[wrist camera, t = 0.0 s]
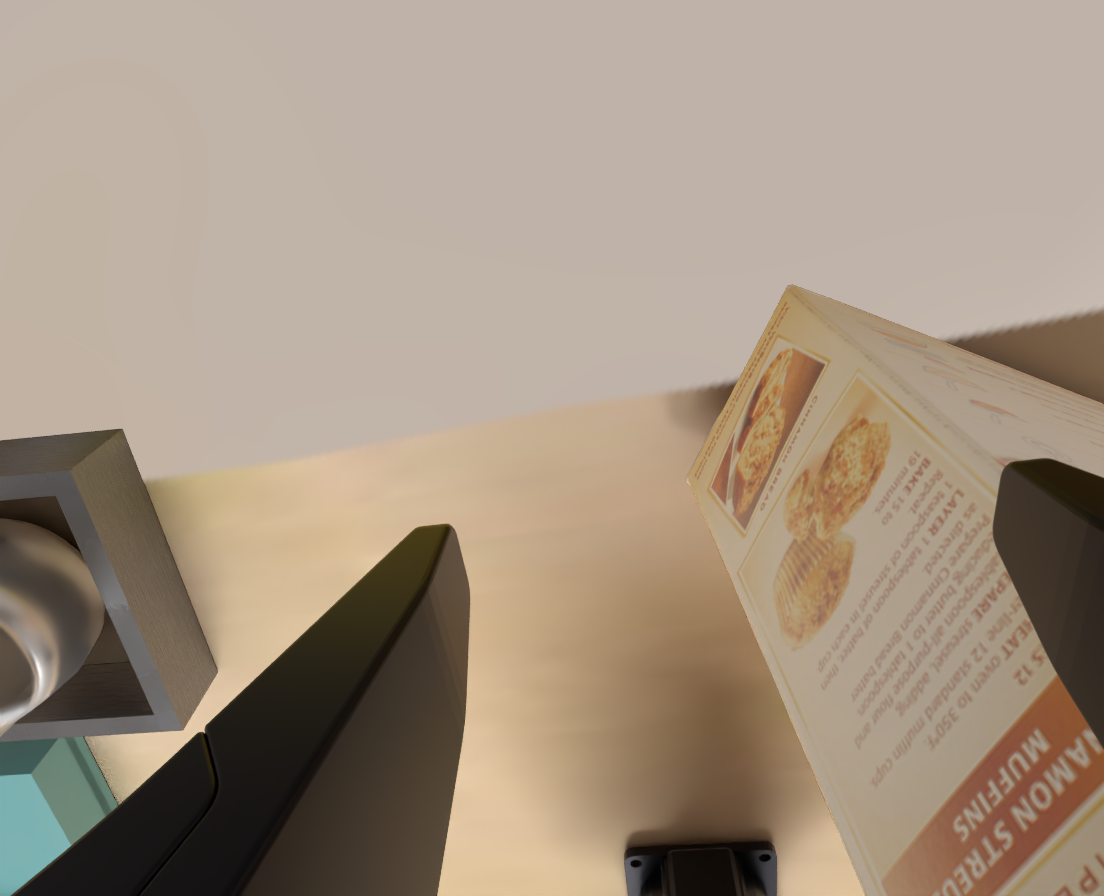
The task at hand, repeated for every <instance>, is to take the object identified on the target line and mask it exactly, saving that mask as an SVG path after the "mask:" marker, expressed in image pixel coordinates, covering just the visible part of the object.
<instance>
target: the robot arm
mask: <svg viewBox="0 0 1104 896" xmlns="http://www.w3.org/2000/svg"><path fill="white" fill-rule="evenodd" d="M993 539H994V543H995V546H996V549H997V551H998V553H999V555H1000V557H1001V559H1002V562H1003V564H1004V566H1005V568H1006V570H1007V572H1008V574H1009V576H1010V578H1011V581H1012V583H1013V585H1014V587H1015V589H1016V591H1017V593H1018V595H1019V598H1020V600H1021V602H1022V604H1023V606H1024V608H1025V610H1026V612H1027V614H1028V617H1029V619H1030V621H1031V623H1032V625H1033V627H1034V629H1035V631H1036V634H1037V636H1038V638H1039V640H1040V642H1041V644H1042V646H1043V648H1044V650H1045V652H1046V654H1047V656H1048V658H1049V660H1050V662H1051V664H1052V666H1053V668H1054V670H1055V671H1056V673H1057V675H1058V676H1059V678H1060V680H1061V681H1062V683H1063V685H1064V687H1065V688H1066V690H1067V692H1068V693H1069V695H1070V696H1071V698H1072V700H1073V701H1074V703H1075V704H1076V706H1077V708H1078V709H1079V711H1080V712H1081V714H1082V716H1083V717H1084V719H1085V720H1086V722H1087V724H1088V725H1089V727H1090V728H1091V730H1092V732H1093V733H1094V735H1095V736H1096V738H1097V740H1098V741H1099V743H1100V745H1101V746H1102V748H1103V749H1104V478H1103V477H1101V476H1098V475H1095V474H1092V473H1090V472H1087V471H1084V470H1081V469H1079V468H1076V467H1073V466H1070V465H1068V464H1065V463H1062V462H1059V461H1057V460H1054V459H1050V458H1039V459H1030V460H1021V461H1013V462H1010V463H1009V464H1007V465H1006V466H1005V467H1004V469H1003V471H1002V473H1001V477H1000V482H999V489H998V495H997V501H996V507H995V513H994V519H993ZM469 618H470V589H469V582H468V578H467V574H466V570H465V566H464V562H463V558H462V554H461V550H460V546H459V542H458V538H457V534H456V531H455V529H454V528H453V527H452V526H451V525H450V524H440V525H430V526H421V527H417V528H415V529H414V530H413V531H412V532H411V533H409V534H408V535H407V536H406V537H405V538H404V539H403V540H402V541H401V542H400V543H399V544H398V545H397V546H396V547H395V548H394V549H393V550H391V551H390V552H389V553H388V554H387V555H386V556H385V557H384V558H383V559H382V560H381V561H380V562H379V563H378V564H377V565H376V566H374V567H373V568H372V569H371V570H370V571H369V572H368V573H367V574H366V575H365V576H364V577H363V578H362V579H361V580H360V581H359V582H358V583H356V584H355V585H354V586H353V587H352V588H351V589H350V590H349V591H348V592H347V593H346V594H345V595H344V596H343V597H342V598H341V599H340V600H338V601H337V602H336V603H335V604H334V605H333V606H332V607H331V608H330V609H329V610H328V611H327V612H326V613H325V614H324V615H323V616H321V617H320V618H319V619H318V620H317V621H316V622H315V623H314V624H313V625H312V626H311V627H310V628H309V629H308V630H307V631H306V632H305V633H303V634H302V635H301V636H300V637H299V638H298V639H297V640H296V641H295V642H294V643H293V644H292V645H291V646H290V647H289V648H288V649H286V650H285V651H284V652H283V653H282V654H281V655H280V656H279V657H278V658H277V659H276V660H275V661H274V662H273V663H272V664H271V665H270V666H268V667H267V668H266V669H265V670H264V671H263V672H262V673H261V674H260V675H259V676H258V677H257V678H256V679H255V680H254V681H253V682H252V683H250V684H249V685H248V686H247V687H246V688H245V689H244V690H243V691H242V692H241V693H240V694H239V695H238V696H237V697H236V698H235V699H233V700H232V701H231V702H230V703H229V704H228V705H227V706H226V707H225V708H224V709H223V710H222V711H221V712H220V713H219V714H218V715H216V716H215V717H214V718H213V719H212V720H211V721H210V722H209V723H208V724H207V725H206V726H205V733H204V732H199V733H197V734H196V735H195V736H194V737H193V738H192V739H191V740H190V741H189V742H188V743H186V744H185V745H184V746H183V747H182V748H181V749H180V750H179V751H178V752H177V753H176V754H175V755H174V756H173V757H172V758H171V759H169V760H168V761H167V762H166V763H165V764H164V765H163V766H162V767H161V768H160V769H158V770H157V771H156V772H155V773H154V774H153V775H152V776H151V777H150V778H149V779H147V780H146V781H145V782H144V783H143V784H142V785H141V786H140V787H139V788H138V789H136V790H135V791H134V792H133V793H132V794H131V795H130V796H129V797H128V798H127V799H125V800H124V801H123V802H122V803H121V804H120V805H119V806H117V807H116V808H115V809H114V810H113V811H112V812H110V813H109V814H108V815H107V816H106V817H104V818H103V819H102V820H101V821H100V822H99V823H97V824H96V825H95V826H94V827H93V828H91V829H90V830H89V831H88V832H87V833H86V834H84V835H83V836H82V837H81V838H80V839H78V840H77V841H76V842H75V843H74V844H73V845H71V846H70V847H69V848H68V849H67V850H65V851H64V852H63V853H62V854H61V855H59V856H58V857H57V858H56V859H55V860H53V861H52V862H51V863H50V864H48V865H47V866H46V867H45V868H44V869H42V870H41V871H40V872H39V873H37V874H36V875H35V876H34V877H33V878H31V879H30V880H29V881H28V882H26V883H25V884H24V885H23V886H22V887H20V888H19V889H18V890H17V891H15V892H14V893H13V894H12V895H11V896H437V893H438V887H439V881H440V875H441V869H442V863H443V856H444V850H445V844H446V838H447V832H448V826H449V820H450V814H451V808H452V801H453V795H454V789H455V783H456V777H457V771H458V765H459V759H460V752H461V746H462V740H463V732H464V725H465V713H466V696H467V670H468V644H469ZM624 865H625V873H626V881H627V890H628V896H777V856H776V852H775V848H774V846H773V845H772V844H771V843H769V842H745V843H723V844H702V845H681V846H660V847H638V848H630V849H628V850H627V851H626V852H625V853H624Z"/></svg>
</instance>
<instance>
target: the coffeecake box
mask: <svg viewBox="0 0 1104 896" xmlns="http://www.w3.org/2000/svg"><path fill="white" fill-rule="evenodd" d="M1039 458H1050V459H1054V460H1057V461H1059V462H1062V463H1065V464H1068V465H1070V466H1073V467H1076V468H1079V469H1081V470H1084V471H1087V472H1090V473H1092V474H1095V475H1098V476H1101V477H1103V478H1104V404H1103V403H1100V402H1098V401H1095V400H1092V399H1090V398H1087V397H1085V396H1082V395H1079V394H1077V393H1074V392H1072V391H1069V390H1066V389H1064V388H1061V387H1059V386H1056V385H1054V384H1051V383H1048V382H1046V381H1043V380H1041V379H1038V378H1036V377H1033V376H1030V375H1028V374H1025V373H1023V372H1020V371H1018V370H1015V369H1013V368H1010V367H1008V366H1005V365H1003V364H1000V363H998V362H995V361H992V360H990V359H987V358H985V357H982V356H979V355H977V354H974V353H972V352H969V351H966V350H964V349H961V348H959V347H956V346H953V345H951V344H948V343H946V342H943V341H940V340H938V339H935V338H933V337H930V336H927V335H925V334H922V333H920V332H917V331H914V330H911V329H909V328H906V327H904V326H901V325H898V324H895V323H893V322H891V321H888V320H885V319H882V318H880V317H878V316H875V315H872V314H870V313H867V312H865V311H862V310H859V309H857V308H854V307H852V306H849V305H846V304H843V303H841V302H838V301H835V300H833V299H830V298H827V297H825V296H822V295H819V294H816V293H814V292H811V291H808V290H806V289H803V288H800V287H797V286H795V285H789V286H787V288H786V290H785V292H784V294H783V296H782V298H781V300H780V302H779V304H778V306H777V308H776V310H775V311H774V313H773V316H772V317H771V319H770V321H769V323H768V325H767V327H766V329H765V331H764V332H763V335H762V336H761V338H760V340H759V342H758V344H757V346H756V348H755V350H754V352H753V354H752V356H751V358H750V359H749V361H748V363H747V365H746V367H745V369H744V371H743V372H742V374H741V376H740V378H739V380H738V382H737V383H736V385H735V387H734V389H733V391H732V393H731V395H730V397H729V399H728V401H727V403H726V405H725V406H724V408H723V410H722V411H721V413H720V415H719V416H718V418H717V419H716V421H715V423H714V425H713V427H712V428H711V430H710V432H709V434H708V436H707V438H706V440H705V442H704V444H703V446H702V448H701V450H700V452H699V454H698V456H697V458H696V460H695V462H694V464H693V466H692V467H691V469H690V471H689V473H688V475H687V477H686V481H687V483H688V484H689V485H691V488H692V490H693V492H694V495H695V497H696V499H697V502H698V504H699V506H700V509H701V511H702V513H703V516H704V518H705V520H706V523H707V525H708V527H709V529H710V532H711V534H712V536H713V539H714V541H715V544H716V546H717V548H718V551H719V553H720V555H721V558H722V560H723V562H724V565H725V567H726V569H727V572H728V574H729V576H730V579H731V581H732V584H733V586H734V588H735V591H736V593H737V595H738V598H739V600H740V602H741V605H742V607H743V610H744V612H745V614H746V617H747V619H748V621H749V624H750V626H751V628H752V631H753V633H754V635H755V638H756V640H757V642H758V645H759V647H760V650H761V652H762V654H763V657H764V659H765V661H766V663H767V666H768V668H769V670H770V672H771V675H772V677H773V679H774V682H775V684H776V686H777V689H778V691H779V694H780V696H781V698H782V701H783V703H784V706H785V708H786V710H787V713H788V715H789V718H790V720H791V722H792V725H793V727H794V729H795V732H796V734H797V737H798V739H799V741H800V744H801V746H802V748H803V751H804V753H805V755H806V758H807V760H808V762H809V765H810V767H811V769H812V772H813V774H814V776H815V779H816V781H817V783H818V786H819V788H820V790H821V793H822V795H823V797H824V800H825V802H826V804H827V807H828V809H829V811H830V814H831V816H832V818H833V821H834V823H835V826H836V828H837V830H838V833H839V835H840V837H841V840H842V842H843V844H844V847H845V849H846V851H847V854H848V856H849V858H850V861H851V863H852V865H853V868H854V870H855V872H856V875H857V877H858V879H859V882H860V884H861V887H862V889H863V891H864V894H865V896H1104V749H1103V748H1102V746H1101V745H1100V743H1099V741H1098V740H1097V738H1096V736H1095V735H1094V733H1093V732H1092V730H1091V728H1090V727H1089V725H1088V724H1087V722H1086V720H1085V719H1084V717H1083V716H1082V714H1081V712H1080V711H1079V709H1078V708H1077V706H1076V704H1075V703H1074V701H1073V700H1072V698H1071V696H1070V695H1069V693H1068V692H1067V690H1066V688H1065V687H1064V685H1063V683H1062V681H1061V680H1060V678H1059V676H1058V675H1057V673H1056V671H1055V670H1054V668H1053V666H1052V664H1051V662H1050V660H1049V658H1048V656H1047V654H1046V652H1045V650H1044V648H1043V646H1042V644H1041V642H1040V640H1039V638H1038V636H1037V634H1036V631H1035V629H1034V627H1033V625H1032V623H1031V621H1030V619H1029V617H1028V614H1027V612H1026V610H1025V608H1024V606H1023V604H1022V602H1021V600H1020V598H1019V595H1018V593H1017V591H1016V589H1015V587H1014V585H1013V583H1012V581H1011V578H1010V576H1009V574H1008V572H1007V570H1006V568H1005V566H1004V564H1003V562H1002V559H1001V557H1000V555H999V553H998V551H997V549H996V546H995V543H994V539H993V519H994V513H995V507H996V501H997V495H998V489H999V482H1000V477H1001V473H1002V471H1003V469H1004V467H1005V466H1006V465H1007V464H1009V463H1010V462H1013V461H1021V460H1030V459H1039Z"/></svg>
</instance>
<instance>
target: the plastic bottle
mask: <svg viewBox="0 0 1104 896" xmlns="http://www.w3.org/2000/svg"><path fill="white" fill-rule="evenodd" d="M104 611H105V609H104V602H103V600H102V598H101V596H100V593H99V591H98V589H97V587H96V585H95V582H94V580H93V578H92V576H91V573H90V571H89V569H88V567H87V565H86V562H85V560H84V558H83V556H82V554H81V553H80V552H79V551H78V550H77V549H76V548H74V547H73V546H72V545H71V544H69V543H68V542H67V541H66V540H64V539H63V538H61V537H59V536H58V535H56V534H54V533H53V532H51V531H49V530H47V529H44V528H42V527H40V526H37V525H34V524H31V523H27V522H24V521H19V520H11V519H0V737H1V736H2V735H3V734H4V733H5V732H6V731H7V730H8V729H9V728H10V727H11V726H12V725H13V724H14V723H15V722H16V721H17V720H19V719H20V718H21V717H23V716H25V715H26V714H27V713H29V712H30V711H31V710H33V709H34V708H35V707H37V706H38V705H40V704H41V703H42V702H43V701H45V700H46V699H47V698H48V697H50V696H51V695H52V694H53V693H54V692H55V691H57V690H58V689H59V688H60V687H61V686H62V685H63V684H64V683H66V682H67V681H68V680H69V679H70V678H71V677H72V676H74V675H75V674H76V673H77V672H78V671H79V669H80V668H81V666H82V665H83V664H84V662H85V661H86V659H87V657H88V655H89V653H90V652H91V650H92V648H93V646H94V644H95V643H96V641H97V639H98V637H99V635H100V634H101V630H102V627H103V624H104Z"/></svg>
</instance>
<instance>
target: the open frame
mask: <svg viewBox="0 0 1104 896" xmlns="http://www.w3.org/2000/svg"><path fill="white" fill-rule="evenodd" d="M46 496H56V498H57V500H58V503H59V505H60V507H61V509H62V511H63V514H64V516H65V518H66V520H67V522H68V525H69V527H70V529H71V531H72V534H73V536H74V538H75V540H76V542H77V545H78V547H79V549H80V551H81V553H82V556H83V558H84V560H85V562H86V565H87V567H88V569H89V571H90V573H91V576H92V578H93V580H94V582H95V585H96V587H97V589H98V591H99V593H100V596H101V598H102V600H103V602H104V604H105V607H106V609H107V611H108V613H109V616H110V618H111V620H112V622H113V624H114V627H115V629H116V631H117V633H118V635H119V638H120V640H121V642H122V644H123V647H124V649H125V651H126V653H127V655H128V658H129V660H130V662H127V663H113V664H99V665H84V666H81V668H80V669H79V671H78V672H77V673H76V674H75V675H74V676H72V677H71V678H70V679H69V680H68V681H67V682H66V683H64V684H63V685H62V686H61V687H60V688H59V689H58V690H57V691H55V692H54V693H53V694H52V695H51V696H50V697H48V698H47V699H46V700H45V701H43V702H42V703H41V704H40V705H38V706H37V707H35V708H34V709H33V710H31V711H30V712H29V713H27V714H26V715H25V716H23V717H21V718H20V719H19V720H17V721H16V722H15V723H14V724H13V725H12V726H11V727H10V728H9V729H8V730H7V731H6V732H5V733H4V734H3V735H2V736H1V737H0V742H5V741H21V740H37V739H53V738H69V737H85V736H101V735H117V734H133V733H149V732H165V731H181V730H184V728H185V726H186V725H187V723H188V721H189V720H190V718H191V716H192V715H193V713H194V711H195V710H196V708H197V706H198V705H199V703H200V701H201V700H202V698H203V696H204V695H205V693H206V691H207V690H208V688H209V686H210V685H211V683H212V681H213V680H214V678H215V676H216V675H217V673H218V671H217V669H216V666H215V664H214V661H213V659H212V656H211V653H210V651H209V648H208V646H207V643H206V641H205V638H204V636H203V633H202V631H201V628H200V625H199V623H198V620H197V618H196V615H195V613H194V610H193V608H192V605H191V602H190V600H189V597H188V595H187V592H186V590H185V587H184V585H183V582H182V580H181V577H180V574H179V572H178V569H177V567H176V564H175V562H174V559H173V557H172V554H171V551H170V549H169V546H168V544H167V541H166V539H165V536H164V534H163V531H162V529H161V526H160V523H159V521H158V518H157V516H156V513H155V511H154V508H153V506H152V503H151V501H150V498H149V495H148V493H147V490H146V488H145V485H144V483H143V480H142V478H141V475H140V472H139V470H138V468H137V465H136V462H135V460H134V457H133V455H132V452H131V450H130V447H129V444H128V442H127V439H126V437H125V434H124V432H123V429H114V430H104V431H94V432H83V433H73V434H63V435H53V436H43V437H32V438H22V439H12V440H2V441H0V501H2V500H13V499H24V498H35V497H46Z"/></svg>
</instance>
